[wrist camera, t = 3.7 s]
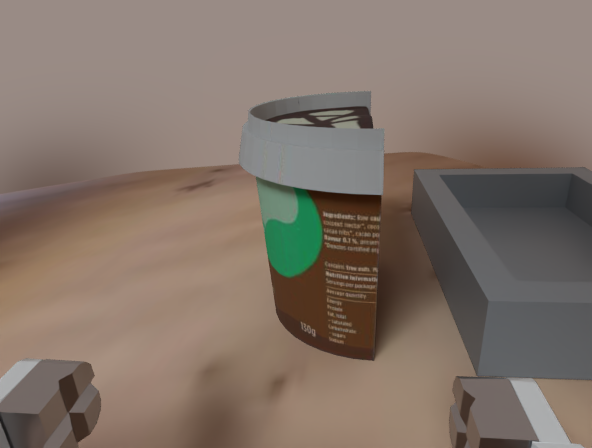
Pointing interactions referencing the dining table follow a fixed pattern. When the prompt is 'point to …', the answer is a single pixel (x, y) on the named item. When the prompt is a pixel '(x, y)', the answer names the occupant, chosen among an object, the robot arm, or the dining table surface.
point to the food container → (320, 214)
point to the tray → (513, 264)
